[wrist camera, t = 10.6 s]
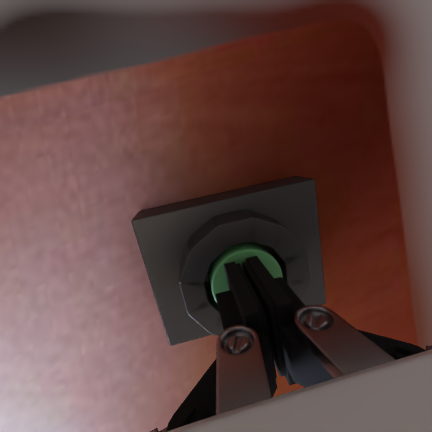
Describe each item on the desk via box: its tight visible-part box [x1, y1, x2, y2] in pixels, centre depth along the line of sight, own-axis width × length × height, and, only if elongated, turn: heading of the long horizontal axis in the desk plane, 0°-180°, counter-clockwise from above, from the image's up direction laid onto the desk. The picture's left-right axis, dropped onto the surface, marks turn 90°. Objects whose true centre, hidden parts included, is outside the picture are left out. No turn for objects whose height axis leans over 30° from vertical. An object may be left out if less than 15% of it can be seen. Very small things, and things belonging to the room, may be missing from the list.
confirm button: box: [208, 242, 282, 302], centre depth 12 cm, size 4×4×2 cm
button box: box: [132, 176, 326, 346], centre depth 14 cm, size 10×8×4 cm
